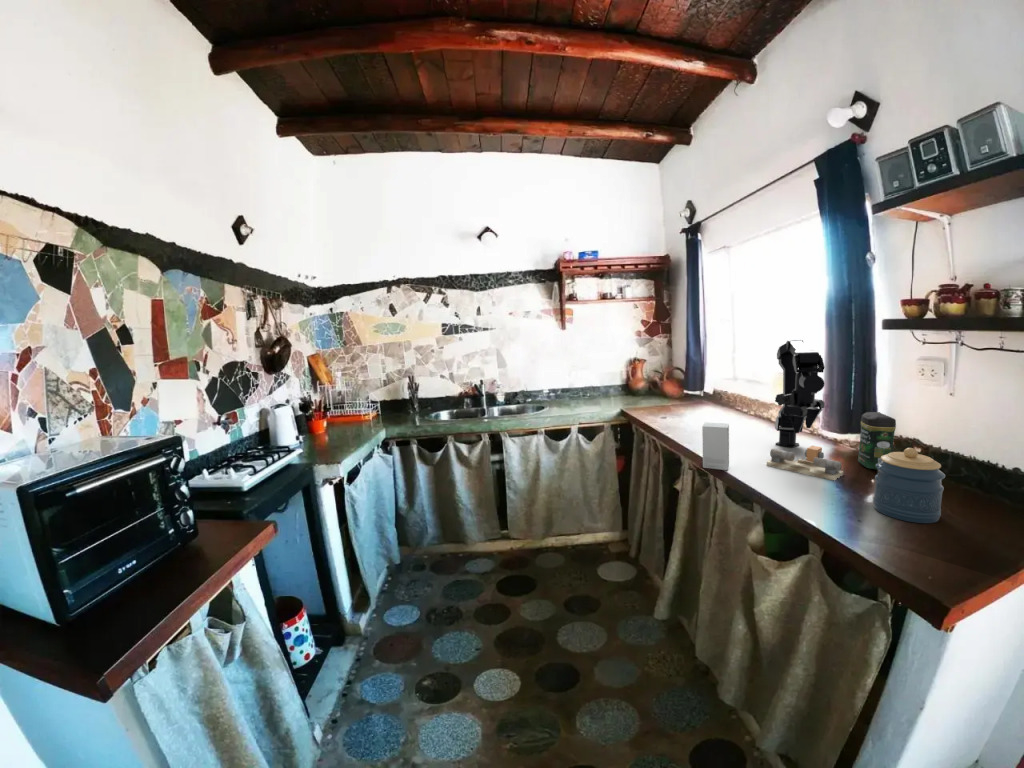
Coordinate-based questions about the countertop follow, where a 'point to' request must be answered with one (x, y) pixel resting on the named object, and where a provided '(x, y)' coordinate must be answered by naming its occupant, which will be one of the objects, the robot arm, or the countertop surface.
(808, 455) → the coupling
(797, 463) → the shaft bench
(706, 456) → the skincare box
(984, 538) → the countertop surface
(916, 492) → the canister
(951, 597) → the countertop surface
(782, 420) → the robot arm
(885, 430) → the coffee jar
